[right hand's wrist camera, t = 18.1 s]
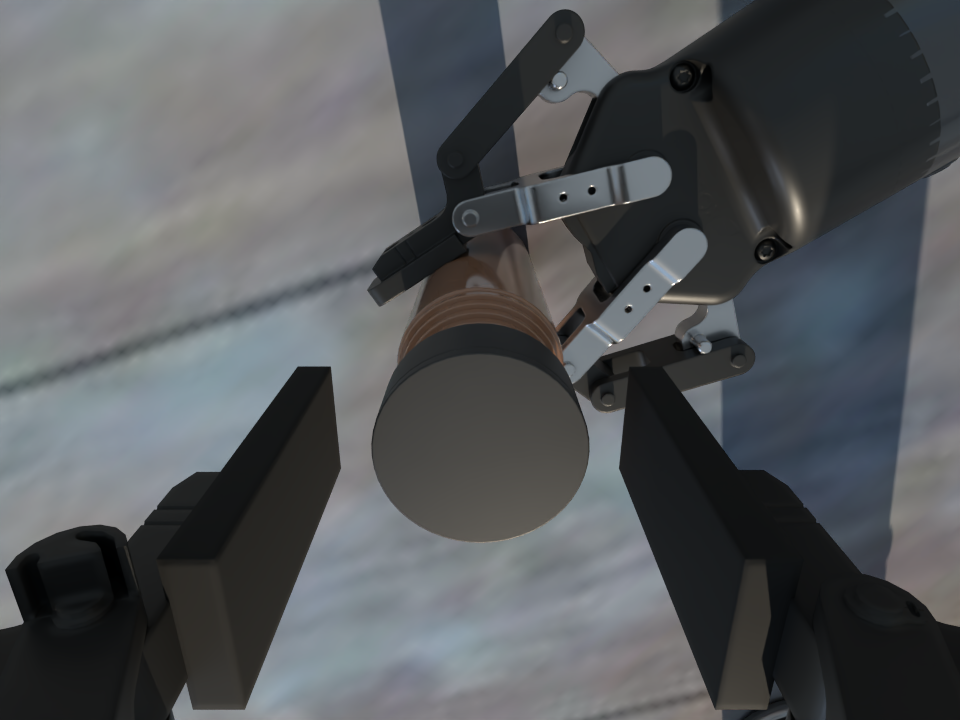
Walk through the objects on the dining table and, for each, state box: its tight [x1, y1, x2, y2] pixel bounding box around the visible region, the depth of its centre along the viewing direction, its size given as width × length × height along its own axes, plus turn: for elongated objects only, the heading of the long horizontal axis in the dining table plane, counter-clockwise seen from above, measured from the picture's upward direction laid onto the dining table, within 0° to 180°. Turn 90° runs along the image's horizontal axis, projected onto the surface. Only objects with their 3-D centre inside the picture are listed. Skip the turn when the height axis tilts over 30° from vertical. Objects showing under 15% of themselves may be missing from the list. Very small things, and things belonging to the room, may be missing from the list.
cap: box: [372, 323, 589, 543], centre depth 14 cm, size 5×5×2 cm
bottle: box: [397, 228, 564, 366], centre depth 21 cm, size 5×5×16 cm
